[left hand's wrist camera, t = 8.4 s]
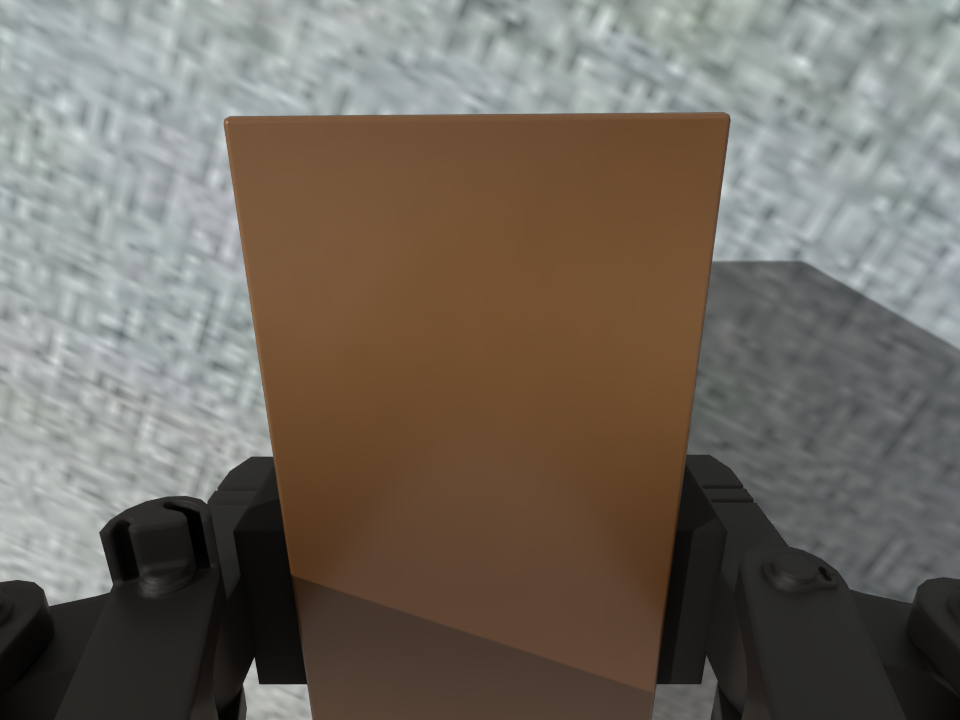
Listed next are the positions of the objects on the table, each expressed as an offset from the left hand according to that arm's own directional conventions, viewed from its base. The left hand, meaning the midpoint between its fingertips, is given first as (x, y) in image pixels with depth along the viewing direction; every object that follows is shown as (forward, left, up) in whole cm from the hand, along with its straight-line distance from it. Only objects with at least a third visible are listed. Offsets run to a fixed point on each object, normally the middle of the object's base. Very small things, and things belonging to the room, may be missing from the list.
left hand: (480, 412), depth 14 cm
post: (+9, +26, -1) cm, 28 cm away
